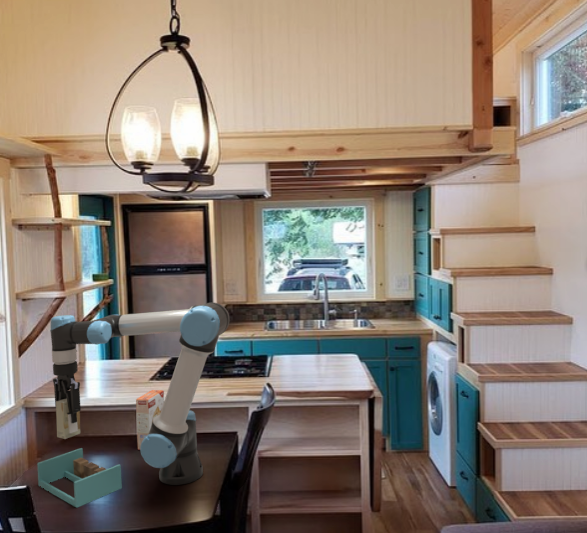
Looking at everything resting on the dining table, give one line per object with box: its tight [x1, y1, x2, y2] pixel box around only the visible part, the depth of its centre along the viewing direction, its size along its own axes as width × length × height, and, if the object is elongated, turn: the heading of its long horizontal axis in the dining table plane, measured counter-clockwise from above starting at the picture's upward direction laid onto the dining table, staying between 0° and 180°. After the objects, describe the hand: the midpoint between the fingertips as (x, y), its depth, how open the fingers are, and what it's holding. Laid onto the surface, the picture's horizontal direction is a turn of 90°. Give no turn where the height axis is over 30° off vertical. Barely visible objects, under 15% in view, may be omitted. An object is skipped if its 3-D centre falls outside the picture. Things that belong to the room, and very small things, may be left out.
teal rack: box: [37, 447, 123, 508], centre depth 177 cm, size 26×16×8 cm, turn 51°
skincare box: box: [55, 398, 81, 440], centre depth 174 cm, size 6×4×12 cm
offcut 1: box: [73, 457, 90, 479], centre depth 185 cm, size 5×3×6 cm, turn 51°
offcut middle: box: [83, 461, 100, 478], centre depth 181 cm, size 5×3×6 cm, turn 51°
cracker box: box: [135, 389, 165, 451], centre depth 214 cm, size 14×6×21 cm, turn 168°
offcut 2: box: [94, 466, 107, 474], centre depth 176 cm, size 5×3×6 cm, turn 51°
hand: (69, 430), depth 174 cm, fingers closed on skincare box, 5 cm apart
